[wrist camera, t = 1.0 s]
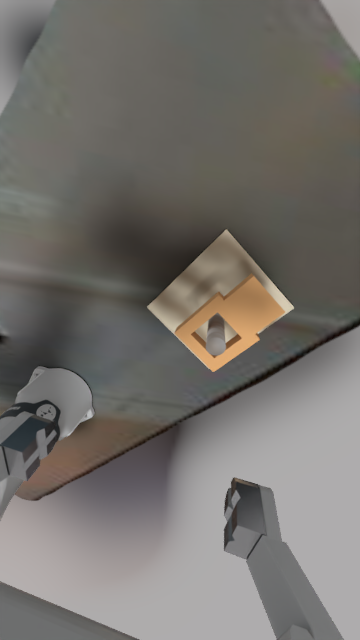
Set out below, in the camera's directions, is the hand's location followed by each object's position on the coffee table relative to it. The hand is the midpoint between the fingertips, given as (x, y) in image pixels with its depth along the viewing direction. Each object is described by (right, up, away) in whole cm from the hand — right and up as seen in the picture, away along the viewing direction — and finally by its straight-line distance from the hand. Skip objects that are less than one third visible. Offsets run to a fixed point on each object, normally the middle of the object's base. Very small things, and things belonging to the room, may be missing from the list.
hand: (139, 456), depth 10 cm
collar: (+8, +6, +21) cm, 23 cm away
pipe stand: (+9, +9, +33) cm, 35 cm away
